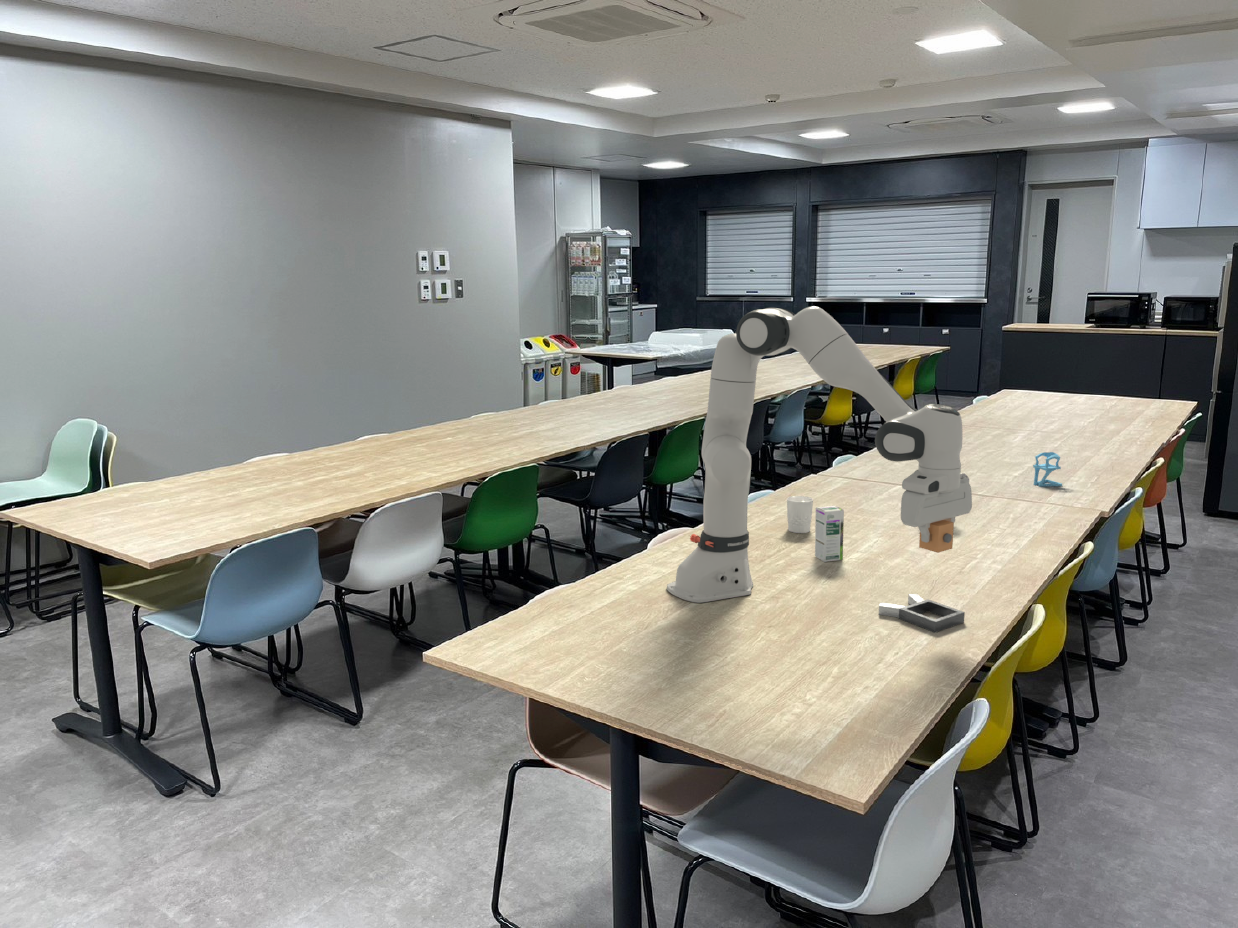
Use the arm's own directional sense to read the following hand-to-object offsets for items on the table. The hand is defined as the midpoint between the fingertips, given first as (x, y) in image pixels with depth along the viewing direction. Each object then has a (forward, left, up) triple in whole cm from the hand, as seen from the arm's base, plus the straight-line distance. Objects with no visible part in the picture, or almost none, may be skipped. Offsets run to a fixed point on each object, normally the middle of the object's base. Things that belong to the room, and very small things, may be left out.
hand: (935, 538), depth 201 cm
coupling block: (0, 0, -2) cm, 2 cm away
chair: (+140, +61, -20) cm, 154 cm away
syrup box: (+14, +46, -20) cm, 52 cm away
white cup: (+27, +71, -20) cm, 79 cm away
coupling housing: (0, +3, -19) cm, 19 cm away
